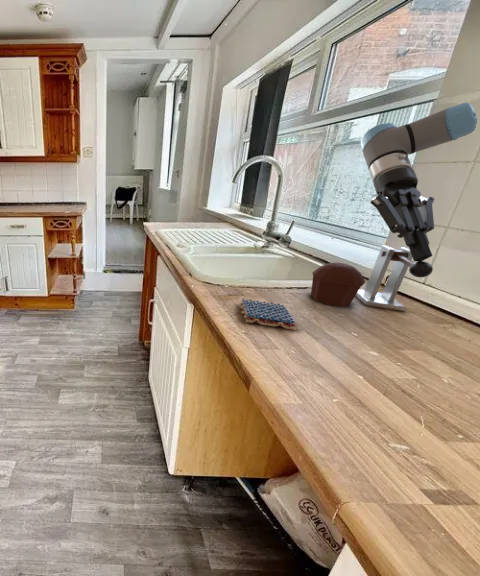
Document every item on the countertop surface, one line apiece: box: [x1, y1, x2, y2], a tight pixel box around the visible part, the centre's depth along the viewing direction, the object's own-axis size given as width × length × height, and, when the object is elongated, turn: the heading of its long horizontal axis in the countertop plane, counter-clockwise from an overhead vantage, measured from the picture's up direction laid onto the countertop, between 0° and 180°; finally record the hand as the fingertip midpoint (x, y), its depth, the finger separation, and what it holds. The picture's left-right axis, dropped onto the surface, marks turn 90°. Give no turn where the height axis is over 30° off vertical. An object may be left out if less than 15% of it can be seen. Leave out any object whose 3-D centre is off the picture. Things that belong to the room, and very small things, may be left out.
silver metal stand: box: [355, 244, 413, 312], centre depth 81 cm, size 10×8×15 cm
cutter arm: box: [390, 248, 434, 278], centre depth 73 cm, size 15×4×4 cm, turn 158°
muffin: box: [310, 262, 367, 308], centre depth 81 cm, size 12×11×10 cm
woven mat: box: [239, 298, 297, 331], centre depth 71 cm, size 10×11×2 cm
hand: (423, 258), depth 68 cm, fingers closed
